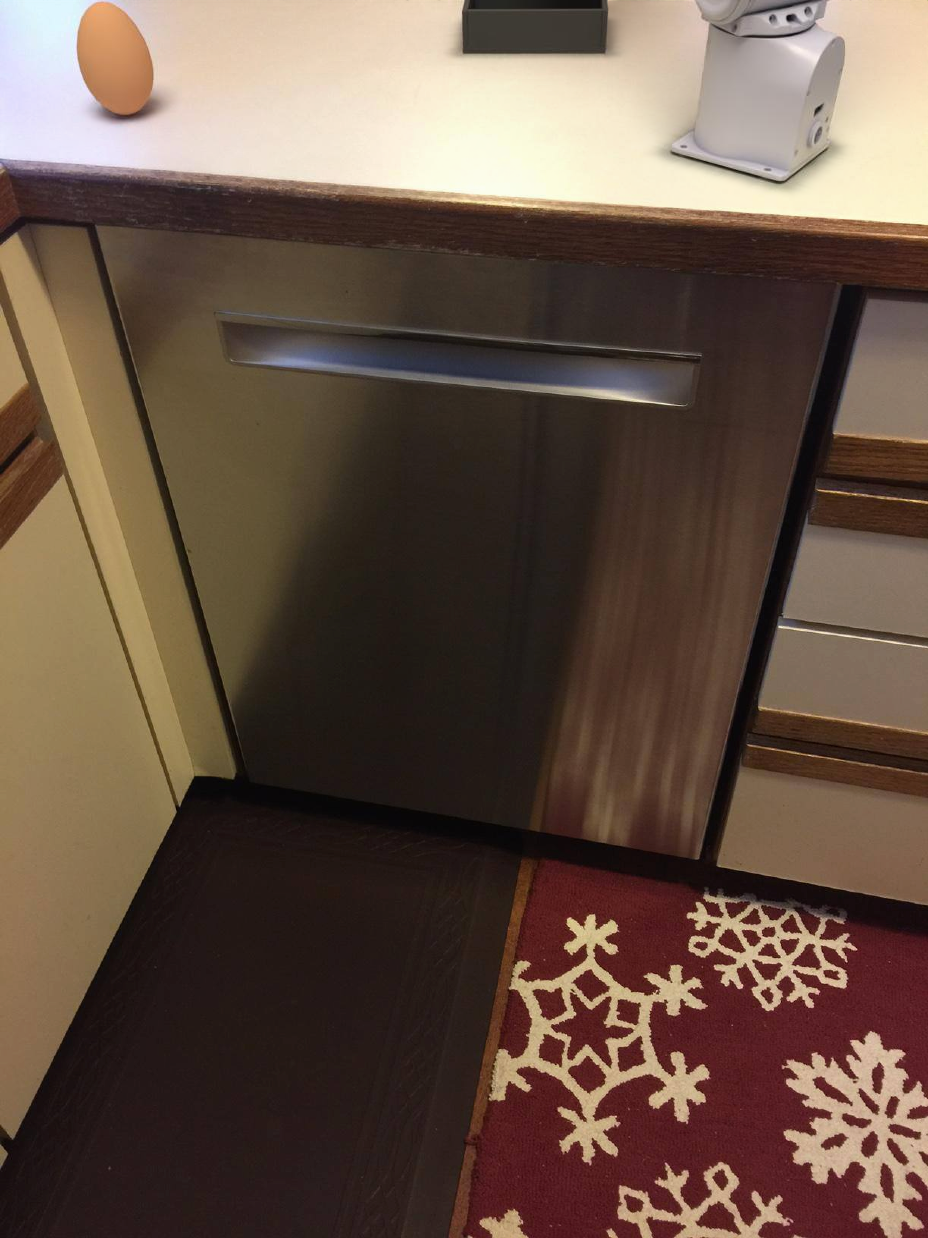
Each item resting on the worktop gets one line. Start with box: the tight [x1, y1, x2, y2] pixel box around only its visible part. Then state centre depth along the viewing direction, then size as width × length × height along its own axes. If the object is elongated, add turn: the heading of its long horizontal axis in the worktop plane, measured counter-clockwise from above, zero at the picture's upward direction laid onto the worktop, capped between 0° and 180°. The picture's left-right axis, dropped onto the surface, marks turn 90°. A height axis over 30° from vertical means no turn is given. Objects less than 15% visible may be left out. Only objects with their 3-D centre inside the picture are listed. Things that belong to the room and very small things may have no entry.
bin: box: [461, 0, 609, 54], centre depth 96 cm, size 13×8×4 cm, turn 86°
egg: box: [76, 0, 155, 116], centre depth 84 cm, size 6×6×8 cm
